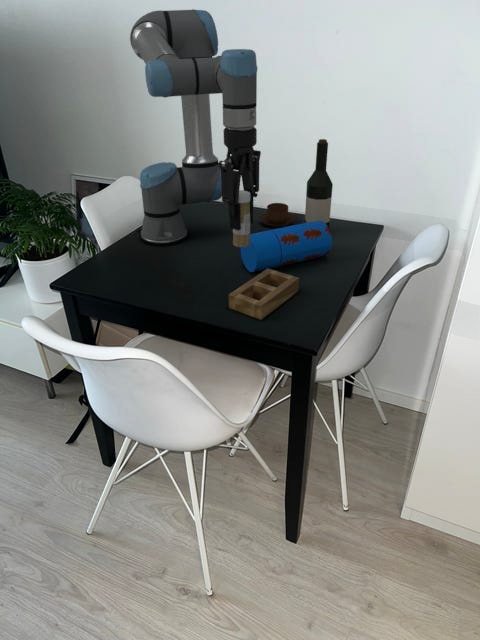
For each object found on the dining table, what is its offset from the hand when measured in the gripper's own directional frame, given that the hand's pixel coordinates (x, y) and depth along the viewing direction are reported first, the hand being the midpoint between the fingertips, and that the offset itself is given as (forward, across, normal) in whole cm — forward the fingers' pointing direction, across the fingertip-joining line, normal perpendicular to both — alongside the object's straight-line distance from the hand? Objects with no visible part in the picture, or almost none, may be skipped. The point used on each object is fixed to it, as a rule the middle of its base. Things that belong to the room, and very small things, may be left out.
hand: (241, 225), depth 126 cm
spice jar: (+5, 0, 0) cm, 5 cm away
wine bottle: (+19, +49, +4) cm, 52 cm away
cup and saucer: (+19, +48, +20) cm, 55 cm away
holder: (+19, +1, -7) cm, 20 cm away
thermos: (+14, +34, -6) cm, 37 cm away
